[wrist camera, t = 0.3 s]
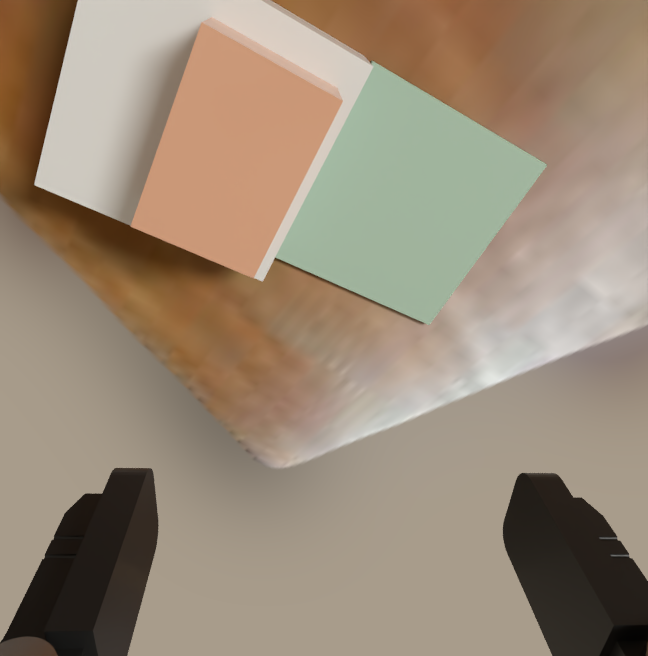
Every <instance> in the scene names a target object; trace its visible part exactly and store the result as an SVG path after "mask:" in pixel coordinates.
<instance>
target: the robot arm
mask: <svg viewBox="0 0 648 656" xmlns="http://www.w3.org/2000/svg"><path fill="white" fill-rule="evenodd" d="M157 537H158V513H157V504H156V494H155V485H154V476H153V471H152V469H150V468H115V469H114V470H113V471H112V473H111V475H110V477H109V479H108V482H107V484H106V487H105V489H104V491H103V494H84V495H83V496H82V497H81V498H80V499H79V500H78V501H77V502H76V503H75V504H74V505H73V506H72V507H71V508H70V509H69V510H68V511H67V512H66V513H65V514H64V517H63V519H62V521H61V523H60V525H59V527H58V529H57V531H56V533H55V535H54V540H52V541H51V543H50V545H49V547H48V549H47V551H46V553H45V558H44V559H42V561H41V564H40V566H39V568H38V570H37V572H36V574H35V576H34V578H33V580H32V582H31V584H30V586H29V588H28V590H27V592H26V594H25V597H24V598H23V600H22V602H21V604H20V606H19V608H18V610H17V613H16V615H15V617H14V619H13V621H12V623H11V625H10V627H9V629H8V631H7V633H6V634H5V636H4V638H3V640H2V641H1V642H0V656H127V654H128V650H129V646H130V643H131V639H132V635H133V632H134V628H135V624H136V621H137V617H138V613H139V610H140V606H141V602H142V598H143V595H144V591H145V587H146V583H147V580H148V576H149V572H150V569H151V565H152V561H153V558H154V554H155V550H156V545H157ZM503 539H504V544H505V548H506V551H507V553H508V556H509V558H510V560H511V562H512V565H513V567H514V570H515V572H516V574H517V576H518V578H519V581H520V583H521V585H522V588H523V590H524V592H525V594H526V597H527V599H528V601H529V603H530V606H531V608H532V610H533V613H534V615H535V617H536V619H537V622H538V624H539V626H540V628H541V630H542V633H543V635H544V638H545V640H546V642H547V644H548V646H549V649H550V651H551V653H552V656H648V581H647V580H646V578H645V576H644V575H643V574H642V572H641V571H640V569H639V568H638V566H637V565H636V563H635V562H634V560H633V559H631V558H629V553H628V552H627V550H626V549H625V547H624V546H623V544H622V543H621V541H618V540H617V536H616V534H615V533H614V532H613V530H612V528H611V527H610V525H609V524H608V522H607V521H606V520H605V518H604V517H603V515H601V514H600V513H599V512H598V511H597V510H595V509H594V508H593V507H592V506H591V505H590V504H588V503H587V502H586V501H585V500H584V499H582V498H573V496H572V495H571V493H570V492H569V490H568V489H567V487H566V486H565V484H564V483H563V481H562V479H561V478H560V477H559V476H558V475H557V474H554V473H521V474H520V475H519V476H518V477H517V480H516V483H515V486H514V489H513V493H512V496H511V499H510V503H509V506H508V510H507V513H506V516H505V519H504V524H503Z"/></svg>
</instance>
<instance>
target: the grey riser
mask: <svg viewBox="0 0 648 656" xmlns="http://www.w3.org/2000/svg"><path fill="white" fill-rule="evenodd" d="M211 17H213V18H214V19H216V20H218V21H220V22H221V23H223V24H225V25H227V26H229V27H230V28H232V29H234V30H236V31H237V32H239V33H241V34H243V35H244V36H246V37H248V38H250V39H252V40H253V41H255V42H257V43H259V44H260V45H262V46H264V47H266V48H268V49H269V50H271V51H273V52H275V53H276V54H278V55H280V56H282V57H284V58H285V59H287V60H289V61H291V62H292V63H294V64H296V65H298V66H299V67H301V68H303V69H305V70H307V71H308V72H310V73H312V74H314V75H315V76H317V77H319V78H321V79H323V80H324V81H326V82H328V83H330V84H331V85H333V86H335V87H337V88H338V90H339V92H340V95H341V97H342V100H343V102H342V104H341V106H340V108H339V110H338V112H337V114H336V116H335V118H334V120H333V122H332V124H331V126H330V128H329V130H328V132H327V134H326V136H325V138H324V140H323V142H322V144H321V146H320V148H319V150H318V152H317V154H316V156H315V158H314V160H313V162H312V164H311V166H310V168H309V170H308V172H307V174H306V176H305V178H304V180H303V182H302V184H301V185H300V187H299V189H298V191H297V193H296V195H295V197H294V199H293V201H292V203H291V205H290V207H289V209H288V211H287V213H286V215H285V217H284V219H283V221H282V223H281V225H280V227H279V229H278V231H277V233H276V235H275V237H274V239H273V241H272V243H271V245H270V247H269V249H268V251H267V253H266V255H265V257H264V259H263V261H262V263H261V265H260V267H259V269H258V271H257V273H256V275H255V277H254V278H256V279H258V280H260V281H263V280H264V278H265V276H266V274H267V272H268V270H269V268H270V266H271V264H272V262H273V260H274V258H275V257H276V255H277V253H278V251H279V249H280V247H281V245H282V243H283V241H284V239H285V237H286V235H287V233H288V231H289V229H290V227H291V226H292V224H293V222H294V220H295V218H296V216H297V214H298V212H299V210H300V208H301V206H302V204H303V202H304V200H305V198H306V196H307V195H308V193H309V191H310V189H311V187H312V185H313V183H314V181H315V179H316V177H317V175H318V173H319V171H320V169H321V167H322V166H323V164H324V162H325V160H326V158H327V156H328V154H329V152H330V150H331V148H332V146H333V144H334V142H335V140H336V138H337V136H338V135H339V133H340V131H341V129H342V127H343V125H344V123H345V121H346V119H347V117H348V115H349V113H350V111H351V109H352V107H353V105H354V104H355V102H356V100H357V98H358V96H359V94H360V92H361V90H362V88H363V86H364V84H365V82H366V80H367V78H368V76H369V75H370V73H371V71H372V69H373V65H372V64H371V63H370V62H369V61H368V60H367V59H366V58H365V57H364V56H363V55H362V54H360V53H359V52H357V51H355V50H353V49H352V48H350V47H348V46H347V45H345V44H343V43H342V42H340V41H338V40H337V39H335V38H333V37H332V36H330V35H328V34H327V33H325V32H323V31H321V30H320V29H318V28H316V27H315V26H313V25H311V24H310V23H308V22H306V21H305V20H303V19H301V18H300V17H298V16H296V15H295V14H293V13H291V12H290V11H288V10H286V9H284V8H283V7H281V6H279V5H278V4H276V3H274V2H273V1H271V0H78V2H77V6H76V10H75V15H74V19H73V23H72V27H71V32H70V36H69V40H68V44H67V48H66V53H65V57H64V61H63V65H62V69H61V74H60V78H59V82H58V86H57V91H56V95H55V99H54V103H53V107H52V112H51V116H50V120H49V124H48V128H47V133H46V137H45V141H44V145H43V150H42V154H41V158H40V162H39V166H38V171H37V175H36V179H35V183H34V185H35V186H38V187H40V188H42V189H45V190H47V191H50V192H52V193H54V194H57V195H59V196H61V197H64V198H66V199H69V200H71V201H73V202H76V203H78V204H80V205H83V206H85V207H87V208H90V209H92V210H95V211H97V212H99V213H102V214H104V215H106V216H109V217H111V218H114V219H116V220H118V221H121V222H123V223H125V224H128V225H130V226H131V223H132V220H133V218H134V215H135V212H136V209H137V206H138V203H139V200H140V197H141V195H142V192H143V189H144V186H145V183H146V180H147V177H148V175H149V172H150V169H151V166H152V163H153V160H154V157H155V154H156V152H157V149H158V146H159V143H160V140H161V137H162V134H163V131H164V129H165V126H166V123H167V120H168V117H169V114H170V111H171V108H172V106H173V103H174V100H175V97H176V94H177V91H178V88H179V86H180V83H181V80H182V77H183V74H184V71H185V68H186V65H187V63H188V60H189V57H190V54H191V51H192V48H193V45H194V42H195V40H196V37H197V34H198V31H199V28H200V25H201V22H203V21H205V20H207V19H209V18H211Z"/></svg>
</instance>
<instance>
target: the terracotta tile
mask: <svg viewBox="0 0 648 656" xmlns="http://www.w3.org/2000/svg"><path fill="white" fill-rule="evenodd" d="M342 102H343V100H342V97H341V95H340V92H339V90H338V88H337V87H335V86H333V85H331V84H330V83H328V82H326V81H324V80H323V79H321V78H319V77H317V76H315V75H314V74H312V73H310V72H308V71H307V70H305V69H303V68H301V67H299V66H298V65H296V64H294V63H292V62H291V61H289V60H287V59H285V58H284V57H282V56H280V55H278V54H276V53H275V52H273V51H271V50H269V49H268V48H266V47H264V46H262V45H260V44H259V43H257V42H255V41H253V40H252V39H250V38H248V37H246V36H244V35H243V34H241V33H239V32H237V31H236V30H234V29H232V28H230V27H229V26H227V25H225V24H223V23H221V22H220V21H218V20H216V19H214V18H213V17H211V18H209V19H207V20H205V21H203V22H201V25H200V28H199V31H198V34H197V37H196V40H195V42H194V45H193V48H192V51H191V54H190V57H189V60H188V63H187V65H186V68H185V71H184V74H183V77H182V80H181V83H180V86H179V88H178V91H177V94H176V97H175V100H174V103H173V106H172V108H171V111H170V114H169V117H168V120H167V123H166V126H165V129H164V131H163V134H162V137H161V140H160V143H159V146H158V149H157V152H156V154H155V157H154V160H153V163H152V166H151V169H150V172H149V175H148V177H147V180H146V183H145V186H144V189H143V192H142V195H141V197H140V200H139V203H138V206H137V209H136V212H135V215H134V218H133V220H132V223H131V226H130V227H133V228H135V229H137V230H140V231H142V232H145V233H147V234H149V235H152V236H154V237H156V238H159V239H161V240H164V241H166V242H168V243H171V244H173V245H175V246H178V247H180V248H183V249H185V250H187V251H190V252H192V253H194V254H197V255H199V256H201V257H204V258H206V259H209V260H211V261H213V262H216V263H218V264H220V265H223V266H225V267H228V268H230V269H232V270H235V271H237V272H239V273H242V274H244V275H247V276H249V277H251V278H254V277H255V275H256V273H257V271H258V269H259V267H260V265H261V263H262V261H263V259H264V257H265V255H266V253H267V251H268V249H269V247H270V245H271V243H272V241H273V239H274V237H275V235H276V233H277V231H278V229H279V227H280V225H281V223H282V221H283V219H284V217H285V215H286V213H287V211H288V209H289V207H290V205H291V203H292V201H293V199H294V197H295V195H296V193H297V191H298V189H299V187H300V185H301V184H302V182H303V180H304V178H305V176H306V174H307V172H308V170H309V168H310V166H311V164H312V162H313V160H314V158H315V156H316V154H317V152H318V150H319V148H320V146H321V144H322V142H323V140H324V138H325V136H326V134H327V132H328V130H329V128H330V126H331V124H332V122H333V120H334V118H335V116H336V114H337V112H338V110H339V108H340V106H341V104H342Z"/></svg>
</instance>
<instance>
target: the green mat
mask: <svg viewBox="0 0 648 656" xmlns="http://www.w3.org/2000/svg"><path fill="white" fill-rule="evenodd" d="M371 64H372V65H373V69H372V71H371V73H370V75H369V76H368V78H367V80H366V82H365V84H364V86H363V88H362V90H361V92H360V94H359V96H358V98H357V100H356V102H355V104H354V105H353V107H352V109H351V111H350V113H349V115H348V117H347V119H346V121H345V123H344V125H343V127H342V129H341V131H340V133H339V135H338V136H337V138H336V140H335V142H334V144H333V146H332V148H331V150H330V152H329V154H328V156H327V158H326V160H325V162H324V164H323V166H322V167H321V169H320V171H319V173H318V175H317V177H316V179H315V181H314V183H313V185H312V187H311V189H310V191H309V193H308V195H307V196H306V198H305V200H304V202H303V204H302V206H301V208H300V210H299V212H298V214H297V216H296V218H295V220H294V222H293V224H292V226H291V227H290V229H289V231H288V233H287V235H286V237H285V239H284V241H283V243H282V245H281V247H280V249H279V251H278V253H277V255H276V258H278V259H280V260H282V261H285V262H287V263H289V264H291V265H294V266H296V267H298V268H301V269H303V270H305V271H307V272H310V273H312V274H314V275H316V276H319V277H321V278H323V279H326V280H328V281H330V282H332V283H335V284H337V285H339V286H341V287H344V288H346V289H348V290H351V291H353V292H355V293H357V294H360V295H362V296H364V297H366V298H369V299H371V300H373V301H376V302H378V303H380V304H382V305H385V306H387V307H389V308H391V309H394V310H396V311H398V312H401V313H403V314H405V315H407V316H410V317H412V318H414V319H416V320H419V321H421V322H423V323H426V324H428V325H430V323H431V322H432V321H433V319H434V318H435V317H436V315H437V314H438V312H439V311H440V310H441V308H442V307H443V306H444V304H445V303H446V302H447V300H448V299H449V298H450V296H451V295H452V293H453V292H454V291H455V289H456V288H457V287H458V285H459V284H460V283H461V281H462V280H463V279H464V277H465V276H466V275H467V273H468V272H469V270H470V269H471V268H472V266H473V265H474V264H475V262H476V261H477V260H478V258H479V257H480V256H481V254H482V253H483V251H484V250H485V249H486V247H487V246H488V245H489V243H490V242H491V241H492V239H493V238H494V237H495V235H496V234H497V232H498V231H499V230H500V228H501V227H502V226H503V224H504V223H505V222H506V220H507V219H508V218H509V216H510V215H511V213H512V212H513V211H514V209H515V208H516V207H517V205H518V204H519V203H520V201H521V200H522V199H523V197H524V196H525V194H526V193H527V192H528V190H529V189H530V188H531V186H532V185H533V184H534V182H535V181H536V180H537V178H538V177H539V175H540V174H541V173H542V171H543V170H544V169H545V167H546V166H547V165H546V164H545V163H544V162H542V161H540V160H539V159H537V158H535V157H534V156H532V155H530V154H528V153H527V152H525V151H523V150H522V149H520V148H518V147H517V146H515V145H513V144H512V143H510V142H508V141H507V140H505V139H503V138H502V137H500V136H498V135H497V134H495V133H493V132H491V131H490V130H488V129H486V128H485V127H483V126H481V125H480V124H478V123H476V122H475V121H473V120H471V119H470V118H468V117H466V116H465V115H463V114H461V113H459V112H458V111H456V110H454V109H453V108H451V107H449V106H448V105H446V104H444V103H443V102H441V101H439V100H438V99H436V98H434V97H433V96H431V95H429V94H428V93H426V92H424V91H422V90H421V89H419V88H417V87H416V86H414V85H412V84H411V83H409V82H407V81H406V80H404V79H402V78H401V77H399V76H397V75H396V74H394V73H392V72H390V71H389V70H387V69H385V68H384V67H382V66H380V65H379V64H377V63H375V62H374V61H371Z"/></svg>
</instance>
